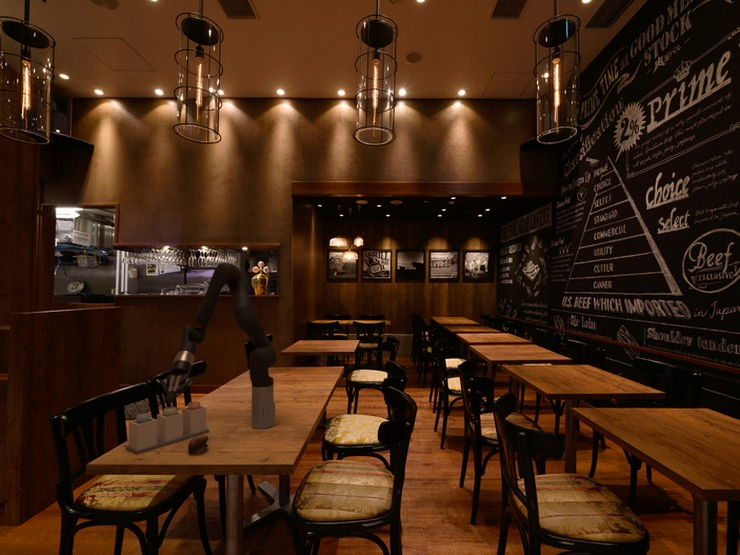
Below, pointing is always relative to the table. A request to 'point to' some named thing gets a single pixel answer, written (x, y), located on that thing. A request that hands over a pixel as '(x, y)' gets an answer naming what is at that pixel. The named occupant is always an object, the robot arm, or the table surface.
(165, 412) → the sage button
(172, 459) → the table surface
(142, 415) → the slate button
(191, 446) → the mushroom
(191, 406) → the terracotta button
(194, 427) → the button stand
